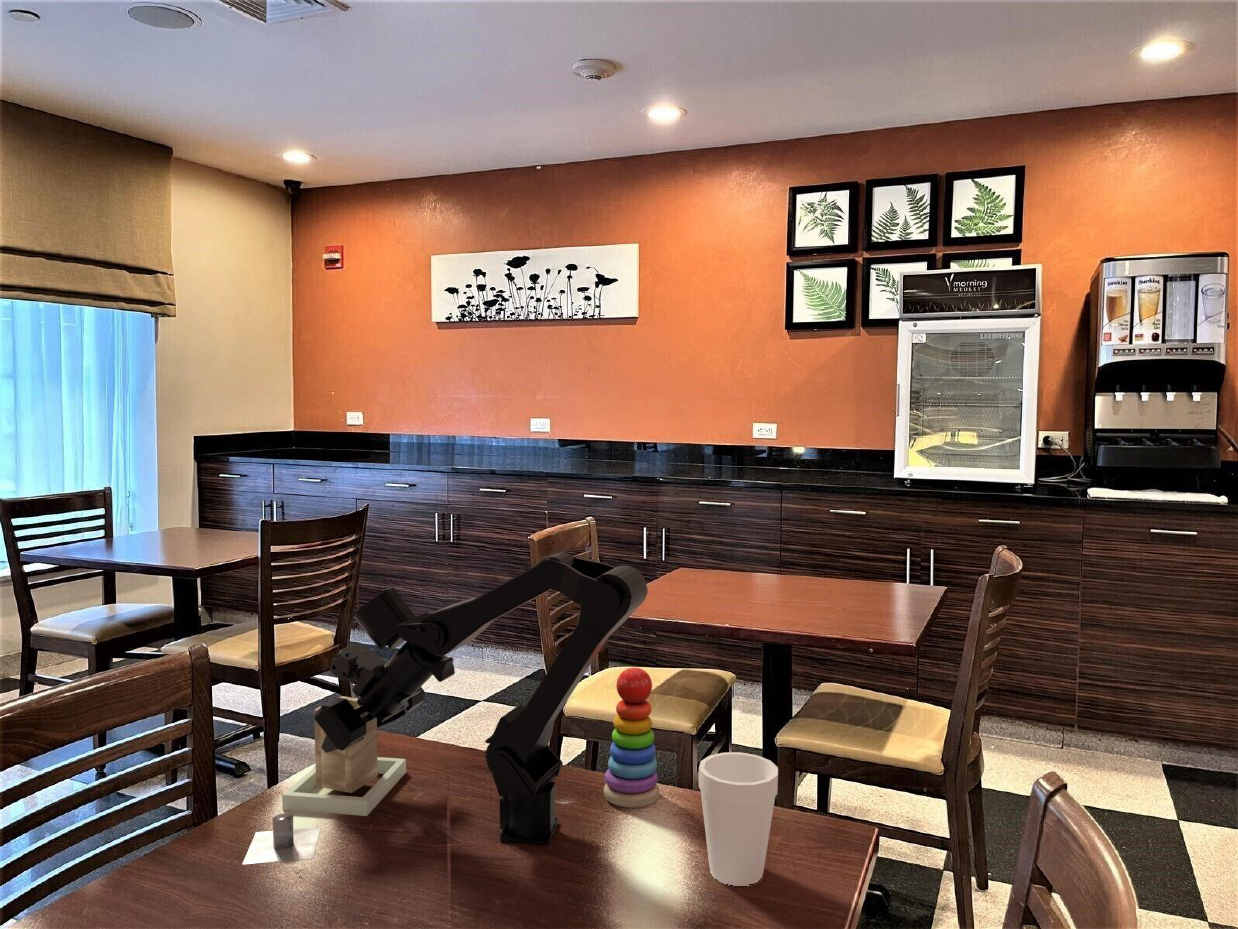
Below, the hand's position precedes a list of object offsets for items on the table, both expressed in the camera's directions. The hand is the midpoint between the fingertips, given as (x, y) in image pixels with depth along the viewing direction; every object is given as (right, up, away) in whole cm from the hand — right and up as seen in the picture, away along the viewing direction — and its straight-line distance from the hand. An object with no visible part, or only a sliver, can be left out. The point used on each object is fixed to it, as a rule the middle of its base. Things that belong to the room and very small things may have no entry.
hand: (338, 741), depth 127 cm
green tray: (+1, -8, 0) cm, 8 cm away
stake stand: (-2, -9, -15) cm, 18 cm away
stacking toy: (+42, -8, +1) cm, 42 cm away
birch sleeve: (+1, -6, 0) cm, 6 cm away
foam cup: (+54, -10, -19) cm, 58 cm away
